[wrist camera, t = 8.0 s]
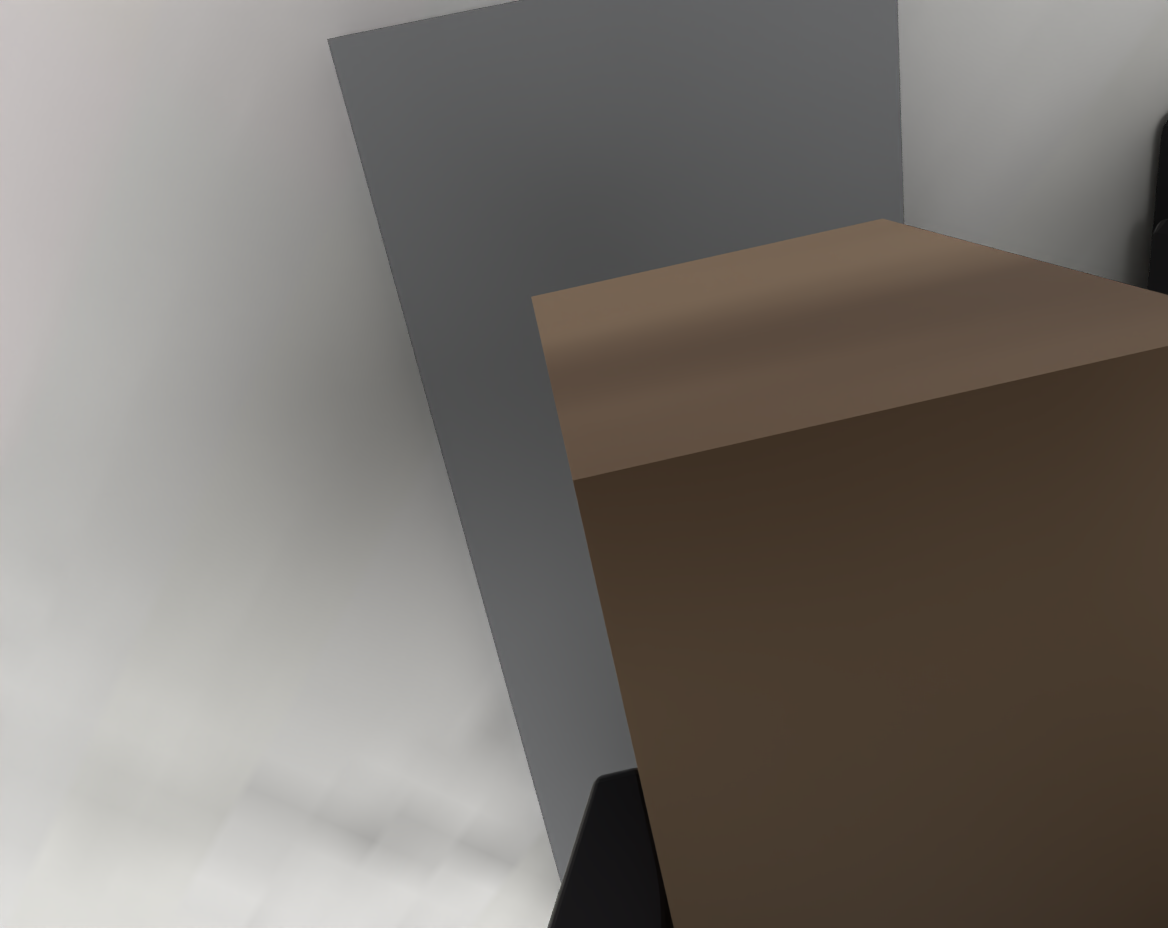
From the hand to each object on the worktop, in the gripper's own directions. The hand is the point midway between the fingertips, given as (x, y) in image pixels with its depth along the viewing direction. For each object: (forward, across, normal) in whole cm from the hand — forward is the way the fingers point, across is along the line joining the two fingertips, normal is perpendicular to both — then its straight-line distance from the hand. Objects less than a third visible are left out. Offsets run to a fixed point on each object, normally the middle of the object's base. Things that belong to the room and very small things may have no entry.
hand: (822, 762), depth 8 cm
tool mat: (+11, -1, +5) cm, 12 cm away
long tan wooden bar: (+1, 0, +6) cm, 6 cm away
